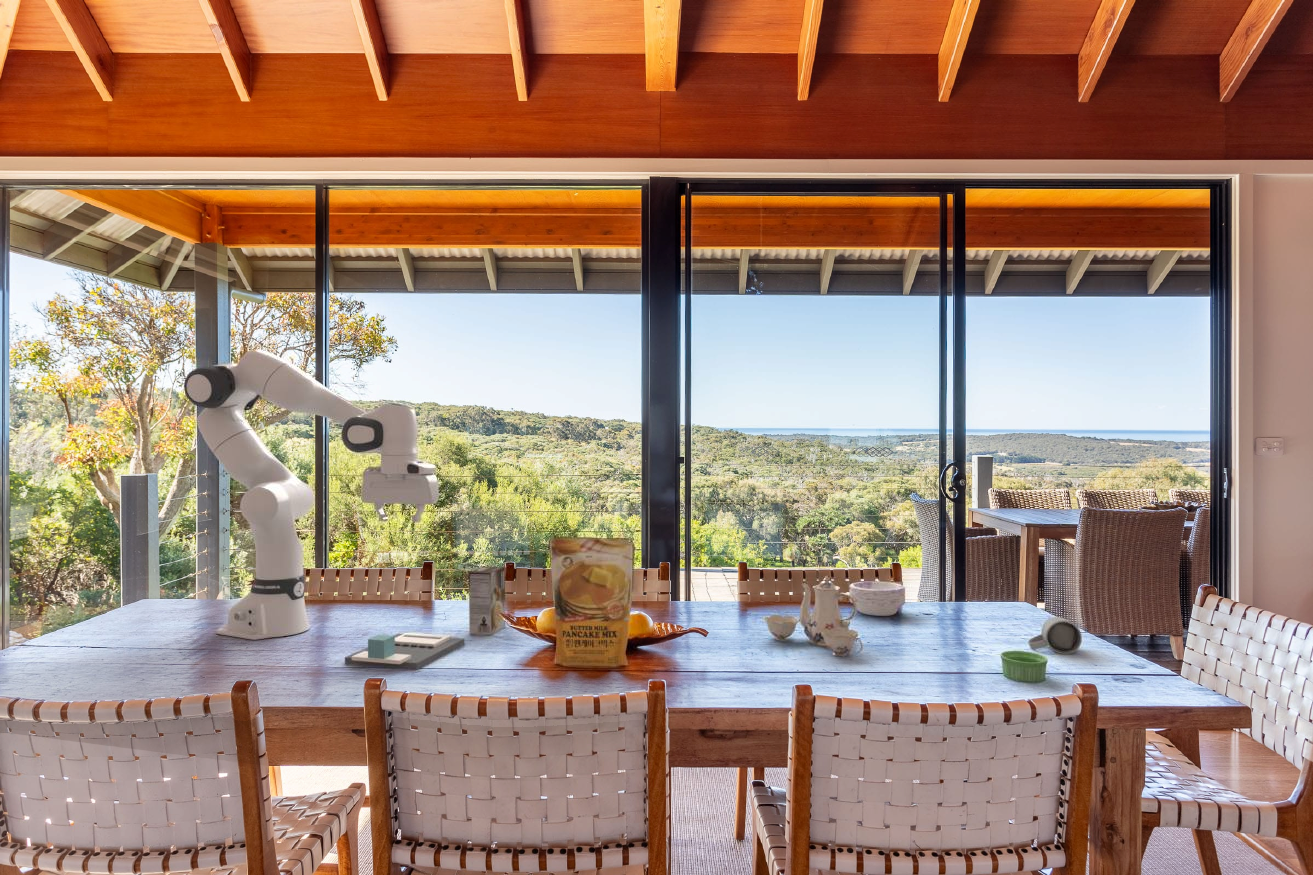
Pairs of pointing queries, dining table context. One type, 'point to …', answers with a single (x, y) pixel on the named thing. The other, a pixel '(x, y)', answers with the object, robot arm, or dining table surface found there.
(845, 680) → the dining table surface
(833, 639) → the chinaware
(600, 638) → the pancake mix bag
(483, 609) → the coffee box
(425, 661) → the board
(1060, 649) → the ceramic mug
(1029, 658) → the ramekin
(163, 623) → the dining table surface
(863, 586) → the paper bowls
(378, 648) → the stub
